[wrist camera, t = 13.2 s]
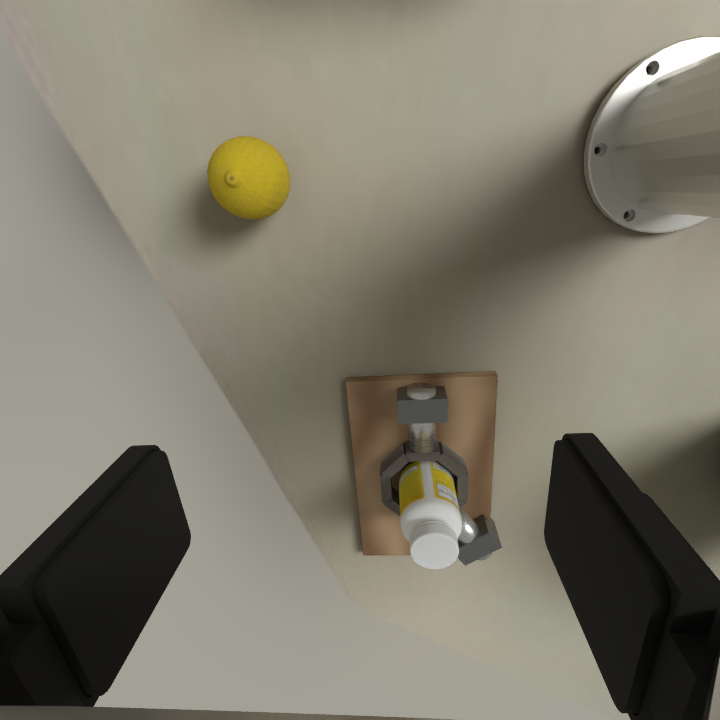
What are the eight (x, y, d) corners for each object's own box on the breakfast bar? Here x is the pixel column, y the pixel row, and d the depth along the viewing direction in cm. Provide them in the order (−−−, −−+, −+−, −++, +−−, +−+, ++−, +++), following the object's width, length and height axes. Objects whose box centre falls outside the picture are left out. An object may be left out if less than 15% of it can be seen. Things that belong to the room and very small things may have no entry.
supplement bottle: (398, 495, 44) (400, 574, 35) (398, 452, 42) (400, 525, 33) (450, 496, 44) (465, 577, 35) (453, 452, 42) (470, 526, 33)
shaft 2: (430, 507, 46) (433, 532, 42) (464, 488, 44) (470, 512, 41) (462, 541, 47) (467, 567, 44) (495, 523, 46) (503, 549, 43)
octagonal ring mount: (494, 371, 39) (502, 385, 36) (486, 547, 47) (492, 570, 44) (346, 377, 40) (343, 391, 38) (363, 548, 49) (362, 570, 46)
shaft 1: (443, 431, 42) (447, 452, 39) (399, 432, 42) (399, 453, 39) (442, 377, 40) (447, 394, 36) (396, 379, 40) (396, 396, 37)
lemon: (276, 229, 35) (245, 240, 28) (220, 187, 34) (174, 187, 27) (312, 172, 34) (290, 168, 26) (254, 126, 33) (214, 108, 25)
